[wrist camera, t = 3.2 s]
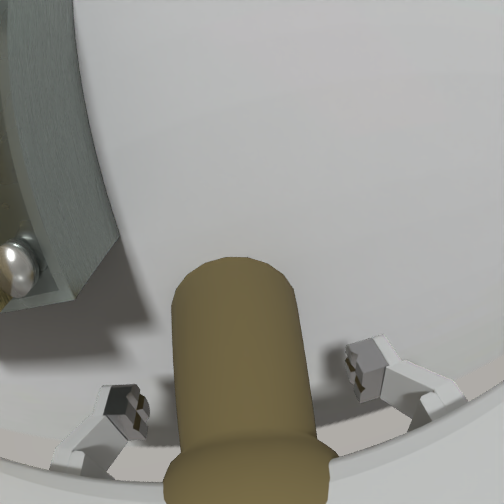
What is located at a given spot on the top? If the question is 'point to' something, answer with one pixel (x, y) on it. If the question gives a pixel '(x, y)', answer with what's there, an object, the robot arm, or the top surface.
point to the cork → (242, 391)
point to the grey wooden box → (46, 161)
